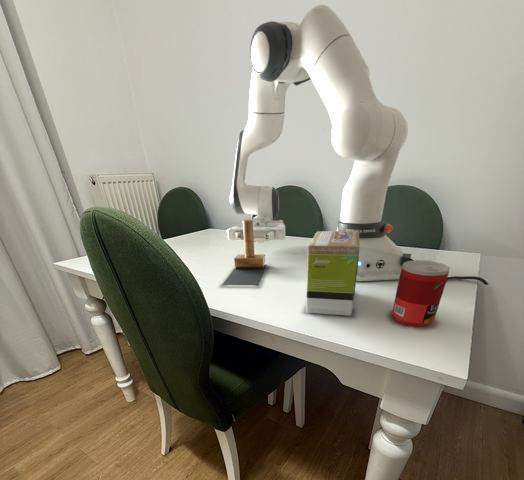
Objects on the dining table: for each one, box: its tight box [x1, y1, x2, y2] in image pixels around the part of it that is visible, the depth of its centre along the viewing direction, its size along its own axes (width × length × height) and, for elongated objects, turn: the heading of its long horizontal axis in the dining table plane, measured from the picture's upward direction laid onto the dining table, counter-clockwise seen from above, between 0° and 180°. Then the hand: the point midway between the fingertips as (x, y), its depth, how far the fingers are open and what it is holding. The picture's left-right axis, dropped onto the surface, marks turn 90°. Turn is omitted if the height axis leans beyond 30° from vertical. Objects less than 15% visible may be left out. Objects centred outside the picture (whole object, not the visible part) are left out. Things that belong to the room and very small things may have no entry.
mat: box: [221, 264, 268, 286], centre depth 88 cm, size 10×20×1 cm, turn 172°
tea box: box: [305, 230, 360, 316], centre depth 65 cm, size 15×10×15 cm
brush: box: [233, 219, 266, 270], centre depth 89 cm, size 9×5×14 cm, turn 82°
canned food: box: [391, 259, 451, 328], centre depth 57 cm, size 8×8×11 cm
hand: (253, 237), depth 94 cm, fingers open, 8 cm apart
